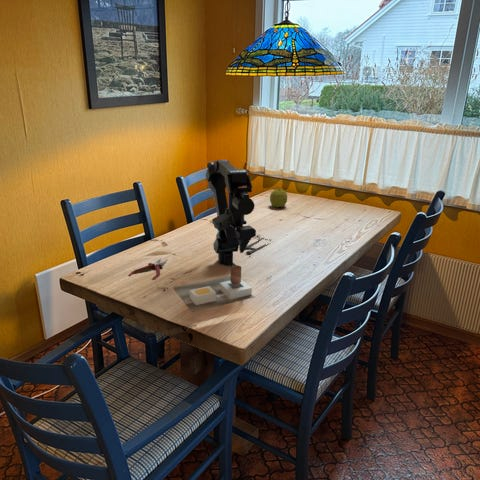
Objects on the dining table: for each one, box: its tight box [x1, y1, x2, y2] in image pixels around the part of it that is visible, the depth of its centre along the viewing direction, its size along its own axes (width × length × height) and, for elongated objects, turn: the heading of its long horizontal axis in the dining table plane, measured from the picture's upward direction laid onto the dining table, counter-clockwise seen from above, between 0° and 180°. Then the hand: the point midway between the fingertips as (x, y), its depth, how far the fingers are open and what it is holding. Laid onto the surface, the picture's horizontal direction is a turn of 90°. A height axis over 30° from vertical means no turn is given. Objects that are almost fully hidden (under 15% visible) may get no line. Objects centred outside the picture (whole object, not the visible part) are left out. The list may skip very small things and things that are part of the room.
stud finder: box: [190, 286, 216, 305], centre depth 143 cm, size 5×7×3 cm
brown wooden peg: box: [229, 264, 242, 289], centre depth 148 cm, size 4×4×9 cm
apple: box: [269, 188, 288, 208], centre depth 247 cm, size 10×10×11 cm
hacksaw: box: [245, 234, 271, 255], centre depth 195 cm, size 24×10×2 cm, turn 145°
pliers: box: [127, 258, 169, 281], centre depth 166 cm, size 12×20×3 cm, turn 165°
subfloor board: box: [172, 275, 255, 313], centre depth 149 cm, size 18×22×2 cm
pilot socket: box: [220, 278, 253, 299], centre depth 149 cm, size 8×8×2 cm
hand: (235, 248), depth 158 cm, fingers open, 9 cm apart
